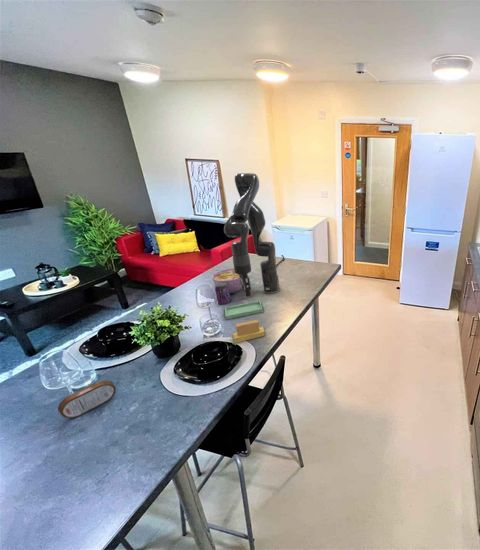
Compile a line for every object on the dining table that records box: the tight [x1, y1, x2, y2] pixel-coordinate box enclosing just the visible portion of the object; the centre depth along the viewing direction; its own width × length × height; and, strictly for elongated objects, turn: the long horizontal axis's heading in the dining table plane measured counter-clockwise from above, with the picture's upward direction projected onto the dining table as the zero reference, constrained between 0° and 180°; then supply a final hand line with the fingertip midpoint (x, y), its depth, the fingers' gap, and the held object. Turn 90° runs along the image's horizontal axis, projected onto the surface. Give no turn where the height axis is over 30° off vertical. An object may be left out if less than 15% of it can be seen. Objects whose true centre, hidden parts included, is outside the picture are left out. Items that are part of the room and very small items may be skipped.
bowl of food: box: [211, 267, 243, 294], centre depth 185 cm, size 20×20×12 cm
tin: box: [57, 379, 117, 419], centre depth 102 cm, size 15×3×8 cm, turn 145°
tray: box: [224, 300, 264, 320], centre depth 164 cm, size 10×19×2 cm, turn 116°
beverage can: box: [214, 282, 231, 305], centre depth 171 cm, size 7×7×12 cm
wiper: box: [232, 319, 266, 344], centre depth 142 cm, size 5×14×8 cm, turn 116°
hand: (246, 292), depth 146 cm, fingers open, 8 cm apart
